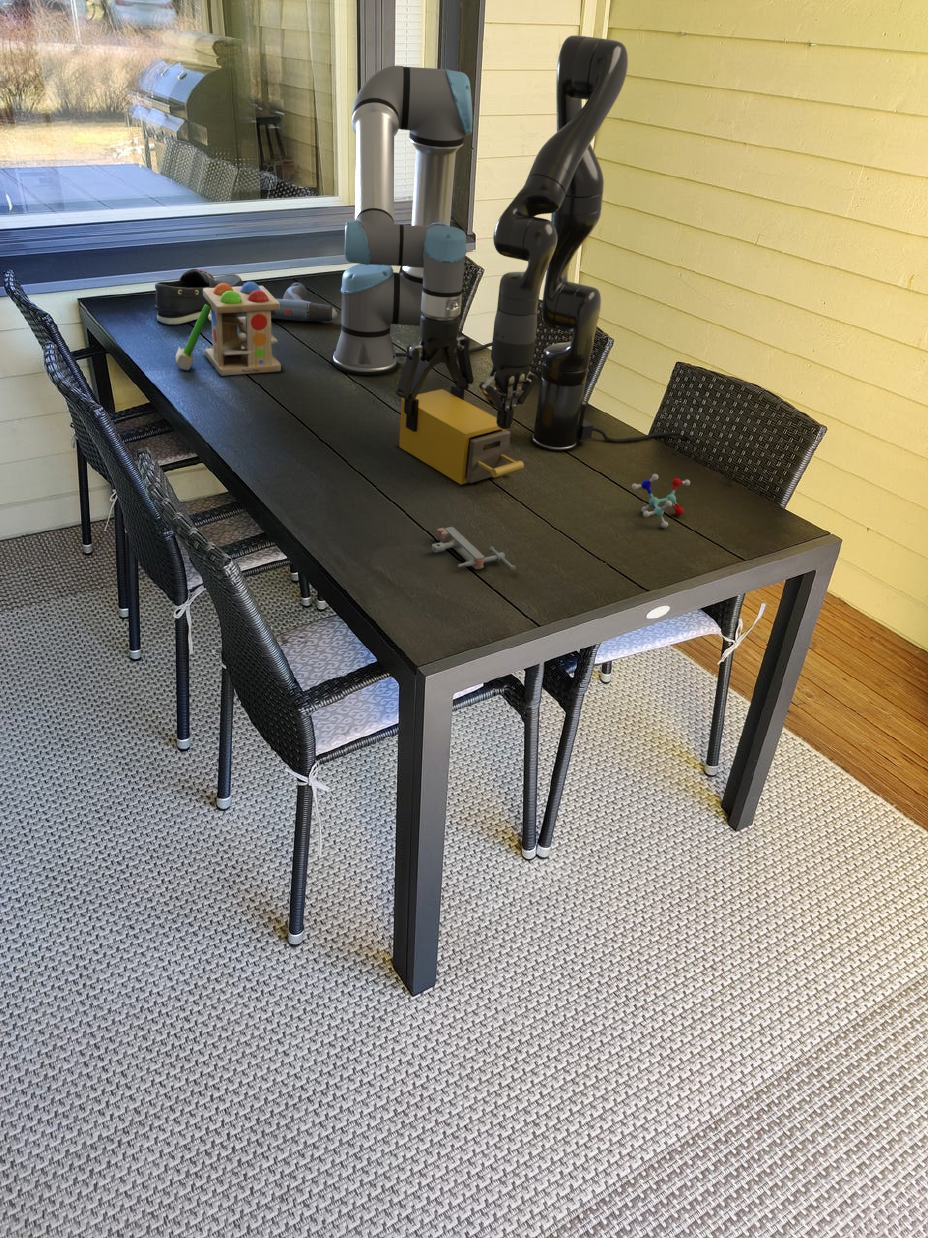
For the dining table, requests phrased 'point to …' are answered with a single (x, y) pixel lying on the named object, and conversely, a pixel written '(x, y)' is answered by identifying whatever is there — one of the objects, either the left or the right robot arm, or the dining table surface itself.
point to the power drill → (301, 307)
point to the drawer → (490, 456)
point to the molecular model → (654, 501)
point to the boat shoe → (187, 295)
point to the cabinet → (445, 432)
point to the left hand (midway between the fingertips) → (433, 423)
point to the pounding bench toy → (229, 347)
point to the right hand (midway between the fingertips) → (503, 427)
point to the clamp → (465, 549)
